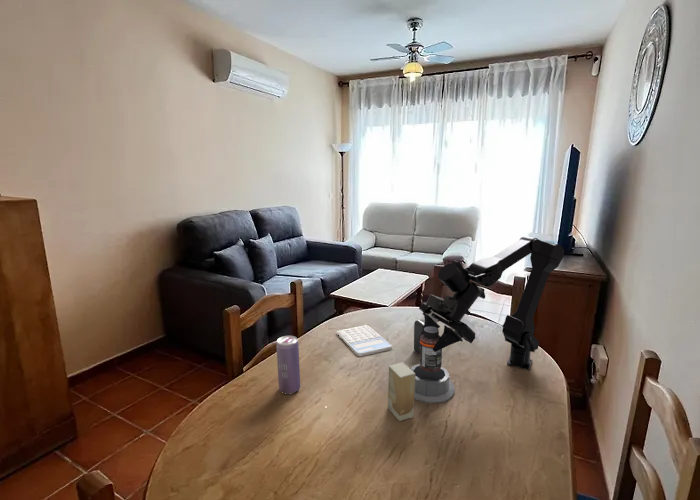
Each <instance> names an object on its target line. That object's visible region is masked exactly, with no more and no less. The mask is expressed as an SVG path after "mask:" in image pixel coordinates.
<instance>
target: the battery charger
mask: <svg viewBox="0 0 700 500" xmlns="http://www.w3.org/2000/svg"><path fill="white" fill-rule="evenodd" d="M413 323H414V325H413V351H414V352H415V353H416V354H417V355H418V356H420V341H419V339H420V336H421V333H422V330H423V327H424V323H425V319H416V320H415V321H414V322H413Z"/></svg>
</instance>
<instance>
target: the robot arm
mask: <svg viewBox="0 0 700 500" xmlns="http://www.w3.org/2000/svg"><path fill="white" fill-rule="evenodd" d="M529 255H530V257H529V259H530V264H531V270H530V273H529V276H528V278H527V281H526V283H525V286H524V289H523V292H522V294H521V296H520V300H519V301H518V302H519V303H518V305H517V308H516V310H515V312H514V313H512V314H511V315H509V314H507V315H506V316H505V319H504V322H503V324H502V329H501V330H502V335H503V337H504V341H505V342H507V343H509V344H510V352H509V357H508V359H507V361H506V365H507V366H511V367H515V368H518V369H523V370H527V371H529V370H530V369H531V366H532V363H533V360H532V359H531V355H532V354H531V353H534V352H535V351H536V350H538V349H539V346H540V344H541V343H540V341H539V340H538V339H537V337H536V336H534V333H535V330H536V327H535V322H534V316H535V314H536V310H537V308H538V305H539V303H540V300H541V298H542V295H543V292H544V289H545V287H546V284H547V281H548V279H549V276H550V274H551V273H552V272H553V271H554V270H556V269H557V268H558V267H559V266H560V265H561V262H562V260H563V259H564V256H565V251H564V248H563V247H562V245H561V244H558V243H553V242H548V241H544V240H541V239H538V238H537V237H534V236H528V235H524V236H521V237H520V238H519V240H517V241H515V242H514V243H513V244H510V245H509V246H508V247H506V248H505V249H503V250H501V251H499V253H497V254H495V255H494V256H492V257H487V258H481V259H479V260H476V261H473V262H472V263H471V264H469V266H468V265H467V266H466V267H464V266H463V265H462V263H461V262H460V261H459V260H458V261H457V260H455V259H454V260H453V261H452V262H451V263H447V264H446V265H443V266H442V267H441V268H440V269H439V271H438V273H437V278H438V279H439V280H440V281H441V282H442V283H443V284H444V286H446V288H448V290H450V291H451V292H453V293H452V295H451V296H449V295H446V296H445V297H444V298H443V297H439V296H437V295H434V294H429V295H428V296H429V297H428V299H427V301H426V302H422V303H421V305H419V307H418V310H420V311H421V312H422V315H423V318H424V320H425V323H424V327H423V330H422V333H421V336H422V335H423V334H424V328H425V327H429V326H431V327H436V328H438V329H440V328H441V326H440V325H439V324H438V322H441V323H442V324H444V327H443V332H442V334H441V335H440V336H441V337H440V338H439V340H438V341H437V343H436V344H435V346H434V348H433V351H434V352H437V351H439V350H441V349H442V350H443V349H445V348H447V347H449V346H451V345H453V344H456V343H458V342H461V343H462V342H464V341H466V342H468V343H469V344H473V342H474V341H475V339H476V332H475V331H474V330H472V328H471V327H470V326H469V325H468V324H467V323H465V322H463V321H461V320H462V319H463V318H464V316H465V315H467V316H469V315H470V314H471V311H470V308H471V307H472V306H473V304H474V303H475V302H476V300H477V299H478V298H481V299H483V300H484V299H486V293H485V288H483V287H480V286H478V285H482V286H484V287H489V288H491V286H493V285H494V284H495V283H497V282H498V281H499V280H500V279H501V278H502V275H503V273H504V272H505V271H506V270H507V269H509V268H511V267H512V266H513V265H515V264H516V263H518V262H520V261H521V260H523V259H524V258H526V257H528V256H529ZM477 284H478V285H477ZM421 336H420V337H421ZM463 339H464V340H463ZM419 341H420V339H419Z"/></svg>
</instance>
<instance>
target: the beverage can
mask: <svg viewBox="0 0 700 500" xmlns="http://www.w3.org/2000/svg"><path fill="white" fill-rule="evenodd" d="M275 347H276V361H277V363H276V364H277V379H278V382H277V383H278V390H279V391H280V393H282V392H283V393H286V394H285V395H291V394H290V393H294V394H295V392H296V391H297V392H299V390H300V388H301V374H300V373H301V372H300V371H301V369H300V352H299V349H300V348H299V341H298V338H297V337H296V336H294V335H284V336H281V337H279V338H277V340H276V346H275ZM297 392H296V393H297ZM283 393H282V394H283Z"/></svg>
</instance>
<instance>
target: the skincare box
mask: <svg viewBox="0 0 700 500" xmlns="http://www.w3.org/2000/svg"><path fill="white" fill-rule="evenodd" d="M387 379H388V384H387V408H388V410H389V411H390V412H391V413H392V414H393V416H394V417H395V419H397V420H398V421H399V422H401V421H404V420H407V419H410V418H413V417H414V414H415V413H414V408H415V399H414V393H415V373H414V372H413V371H412V370H411V367H409V366H408V365H406V364H405V363H404V362H403V361H402V362H397V363H393V364H389V365H388V377H387Z"/></svg>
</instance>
